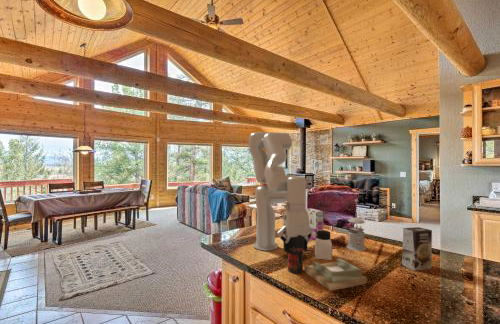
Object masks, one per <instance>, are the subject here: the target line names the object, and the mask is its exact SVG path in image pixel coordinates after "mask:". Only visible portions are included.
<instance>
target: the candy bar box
mask: <svg viewBox="0 0 500 324" xmlns="http://www.w3.org/2000/svg"><path fill="white" fill-rule="evenodd" d="M306 210H307V211H308V216H309V226H310V227H311V228H312V229H313V230H314V232H313V233H312V234H311V237H310V238H309V239H311V240H313V241H315V239H317V231H319V230H324V221H325V220H324V216H325V215H324V213H325V212H324V211H323V210H319V209H315V208H306Z"/></svg>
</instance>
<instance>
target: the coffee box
mask: <svg viewBox="0 0 500 324" xmlns="http://www.w3.org/2000/svg"><path fill="white" fill-rule="evenodd" d="M432 237H433V230H431V229H427V228H424V227H420V226H416V227H415V226H413V227H403V228H402V258H401V259H402V260H401V262H402V263H401V264H402V266H404V267H406V268H408V269H409V270H412V271H422V270H431V269H432V259H433V258H432V257H433V256H432V251H433V250H432V249H433V248H432V246H433V245H432V243H433V242H432V241H433V239H432Z"/></svg>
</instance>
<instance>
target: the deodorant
mask: <svg viewBox="0 0 500 324" xmlns="http://www.w3.org/2000/svg"><path fill="white" fill-rule="evenodd" d="M288 243H289V244H290V245H289V253H287V271H288V272H289V273H291V274H294V275H295V274H297V275H298V274H299V275H300V274H302V273H303V270H304V268H303V267H304V250H303V236H301V235H297V237H291V238H290V240H289V242H288Z"/></svg>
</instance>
